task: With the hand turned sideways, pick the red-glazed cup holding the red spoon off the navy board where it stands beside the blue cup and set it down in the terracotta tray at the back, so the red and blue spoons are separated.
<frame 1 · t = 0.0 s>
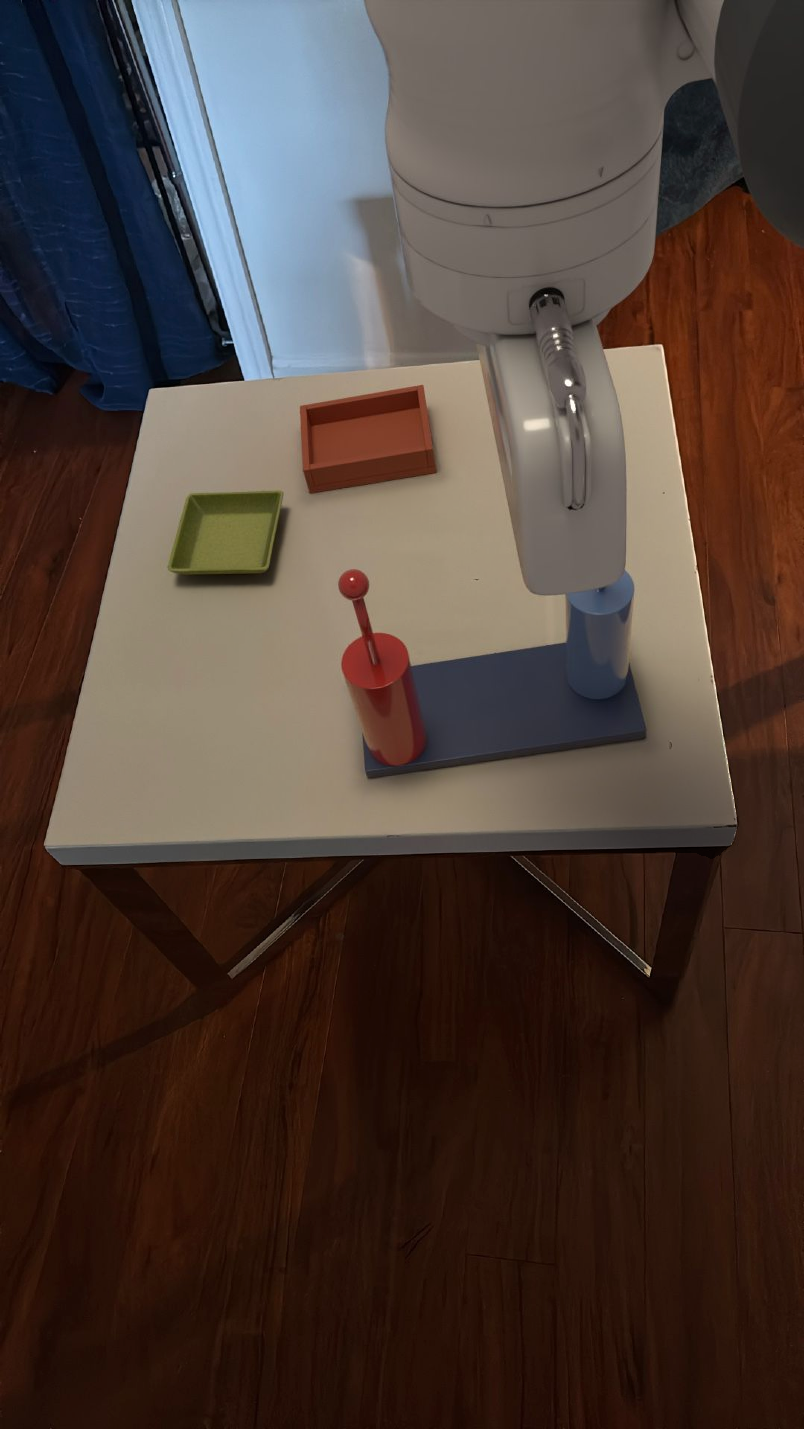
hand: (537, 496, 47), 30 cm above the table, tool pointing down, fingers open, 8 cm apart
red spoon cup: (397, 739, 75), point 1 cm above the table, touching navy board
saucer: (233, 547, 89), on the table
navy board: (497, 708, 76), on the table
red tray: (369, 450, 93), on the table
blue spoon cup: (596, 674, 76), point 1 cm above the table, touching navy board
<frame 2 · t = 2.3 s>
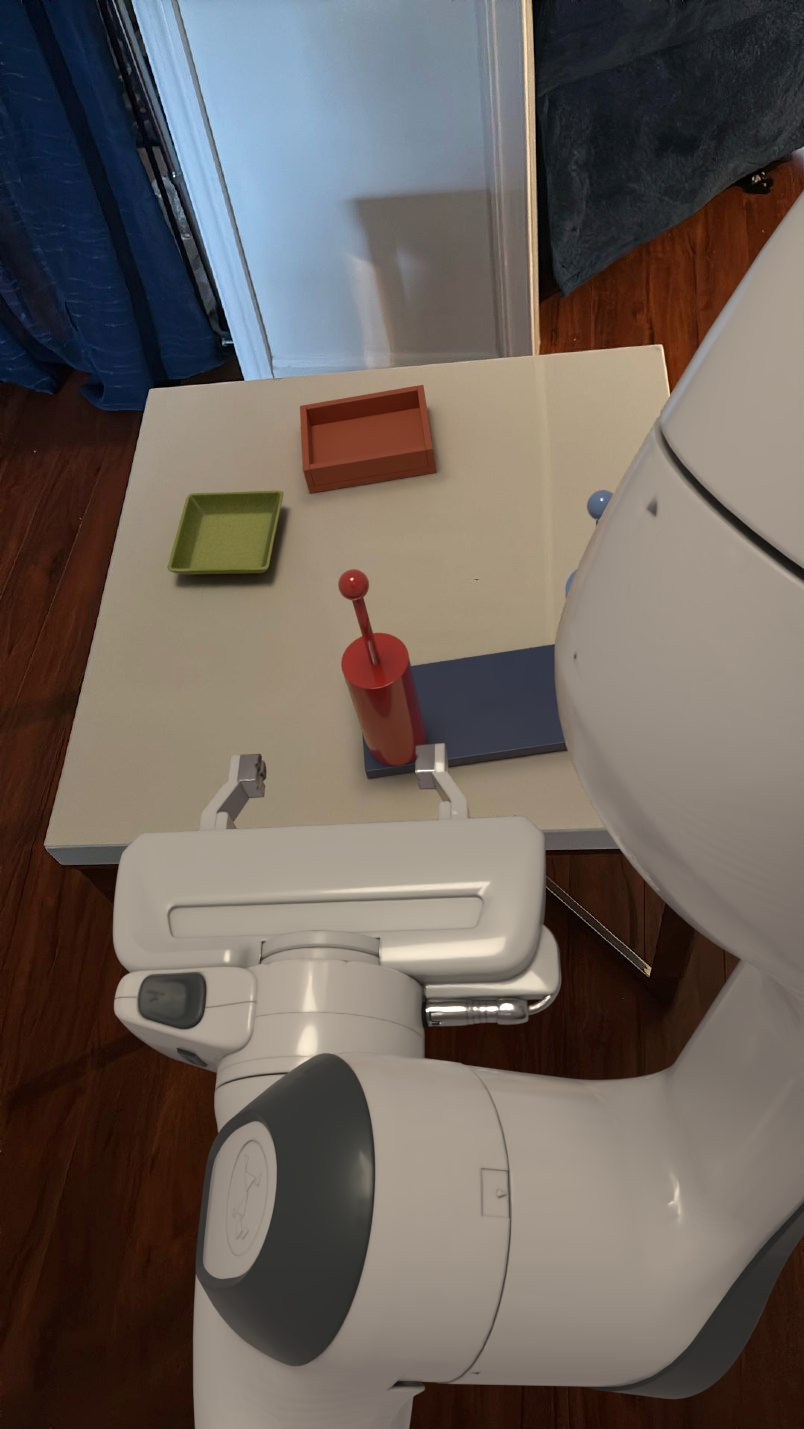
hand: (339, 754, 53), 20 cm above the table, tool horizontal, fingers open, 8 cm apart
nothing on the table moved.
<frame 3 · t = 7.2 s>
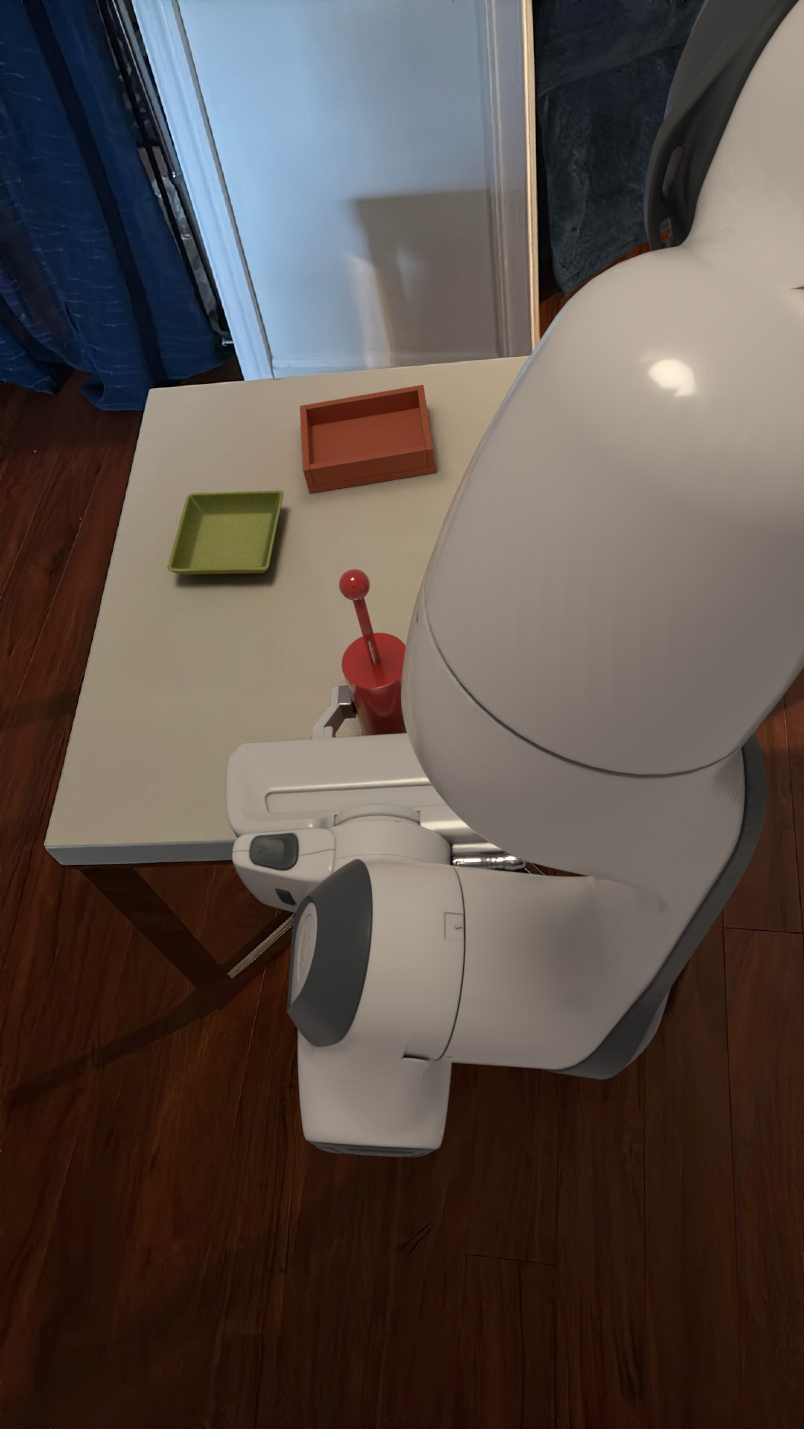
hand: (385, 687, 71), 7 cm above the table, tool horizontal, fingers closed on red spoon cup, 4 cm apart
red spoon cup: (397, 739, 75), point 1 cm above the table, touching gripper, navy board
everything else where it was.
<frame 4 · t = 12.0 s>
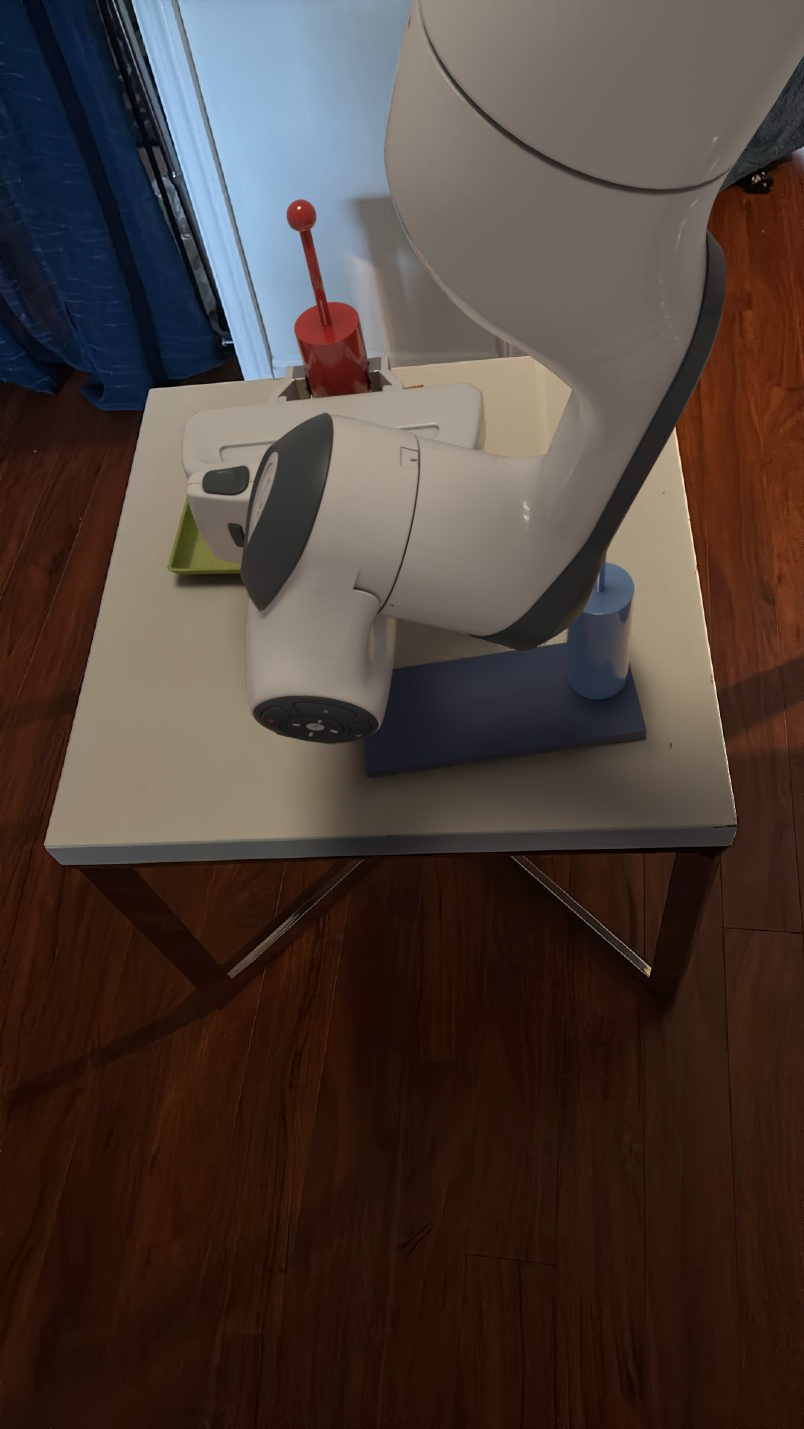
hand: (339, 368, 73), 17 cm above the table, tool horizontal, fingers closed on red spoon cup, 4 cm apart
red spoon cup: (353, 436, 77), point 11 cm above the table, touching gripper
everything else where it was.
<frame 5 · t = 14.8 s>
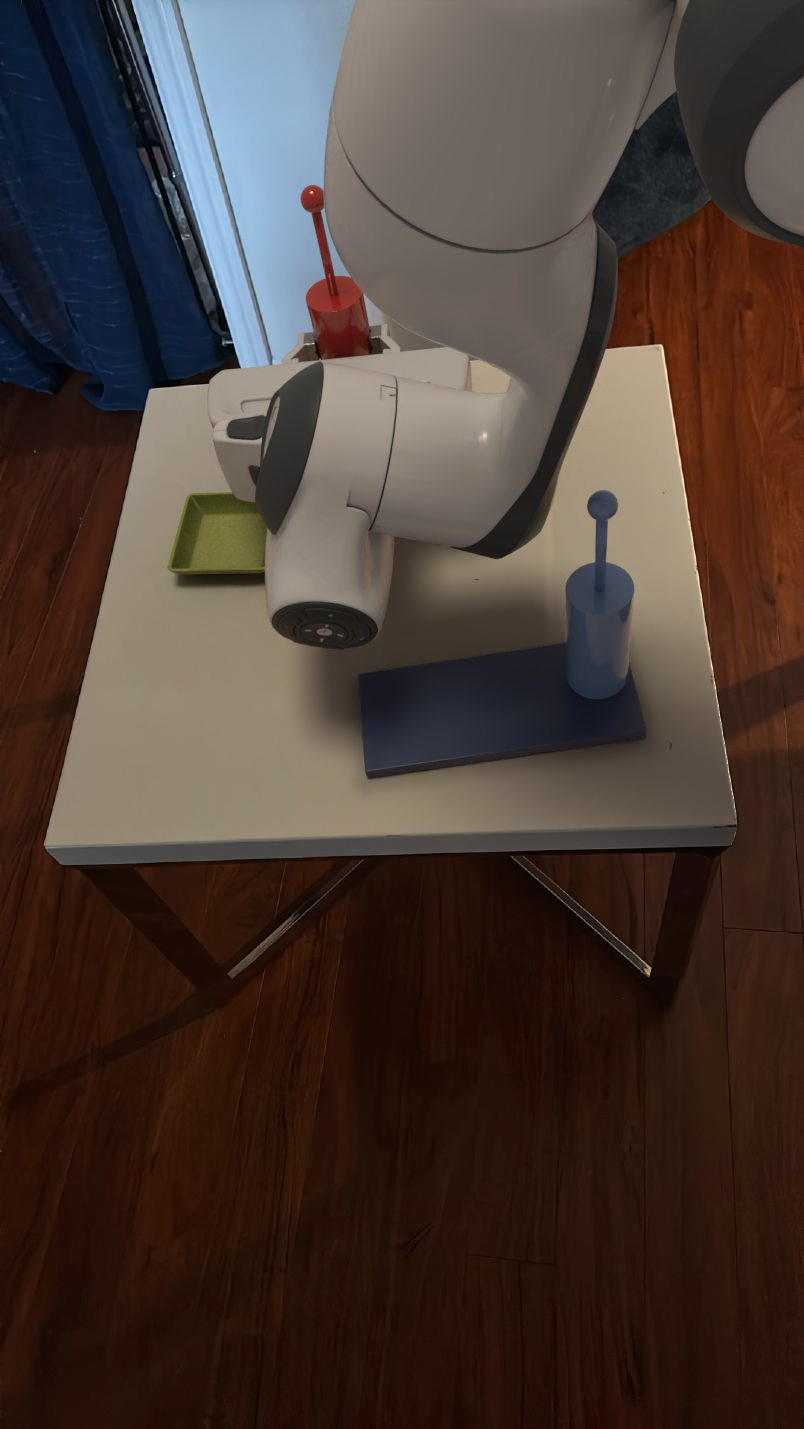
hand: (344, 335, 83), 12 cm above the table, tool horizontal, fingers closed on red spoon cup, 4 cm apart
red spoon cup: (356, 396, 88), point 6 cm above the table, touching gripper
everything else where it was.
when the fingers open (6 cm above the table, at t = 16.7 s): red spoon cup stays where it is, resting on red tray.
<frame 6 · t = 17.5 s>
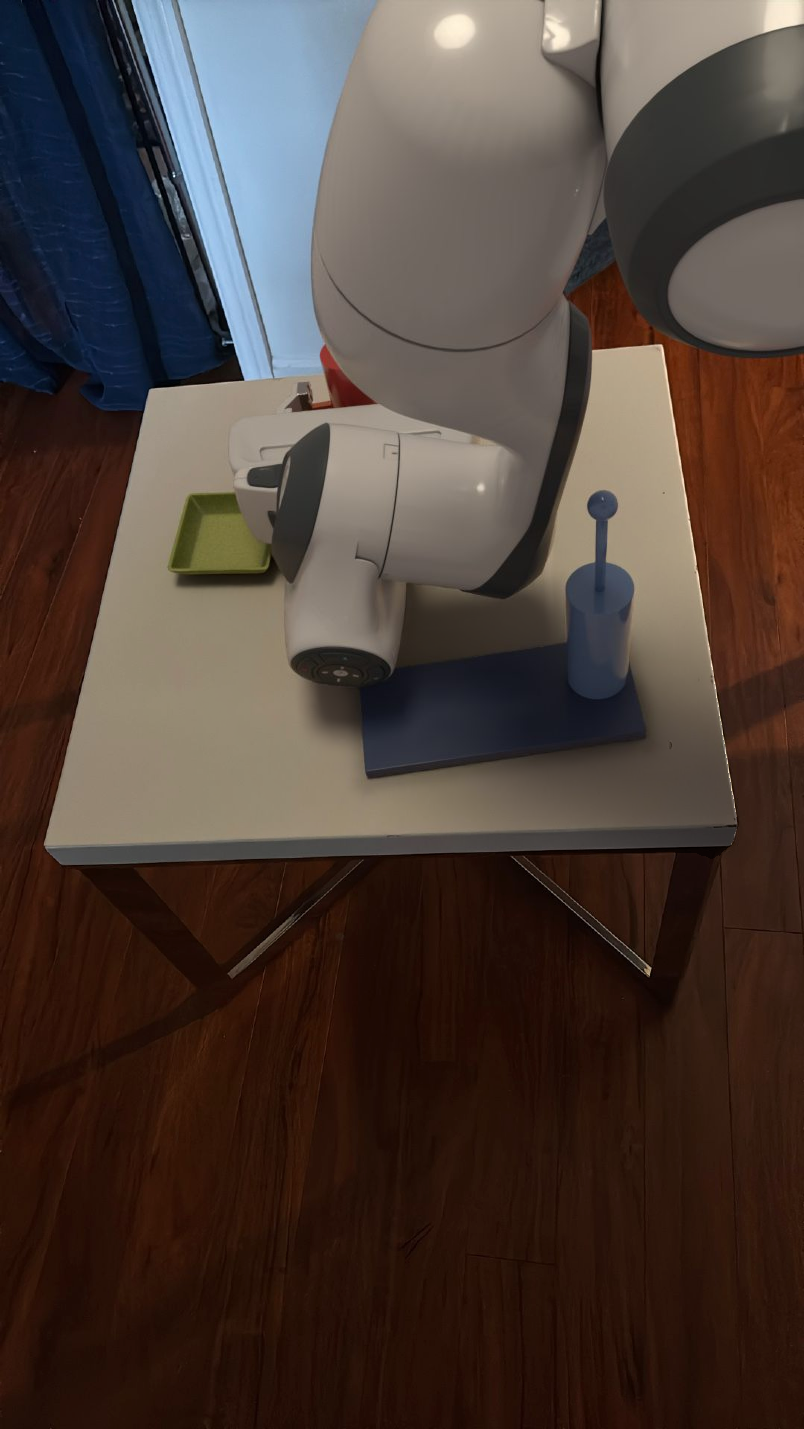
hand: (357, 382, 87), 7 cm above the table, tool horizontal, fingers open, 8 cm apart
red spoon cup: (367, 444, 92), point 1 cm above the table, touching red tray
everything else where it was.
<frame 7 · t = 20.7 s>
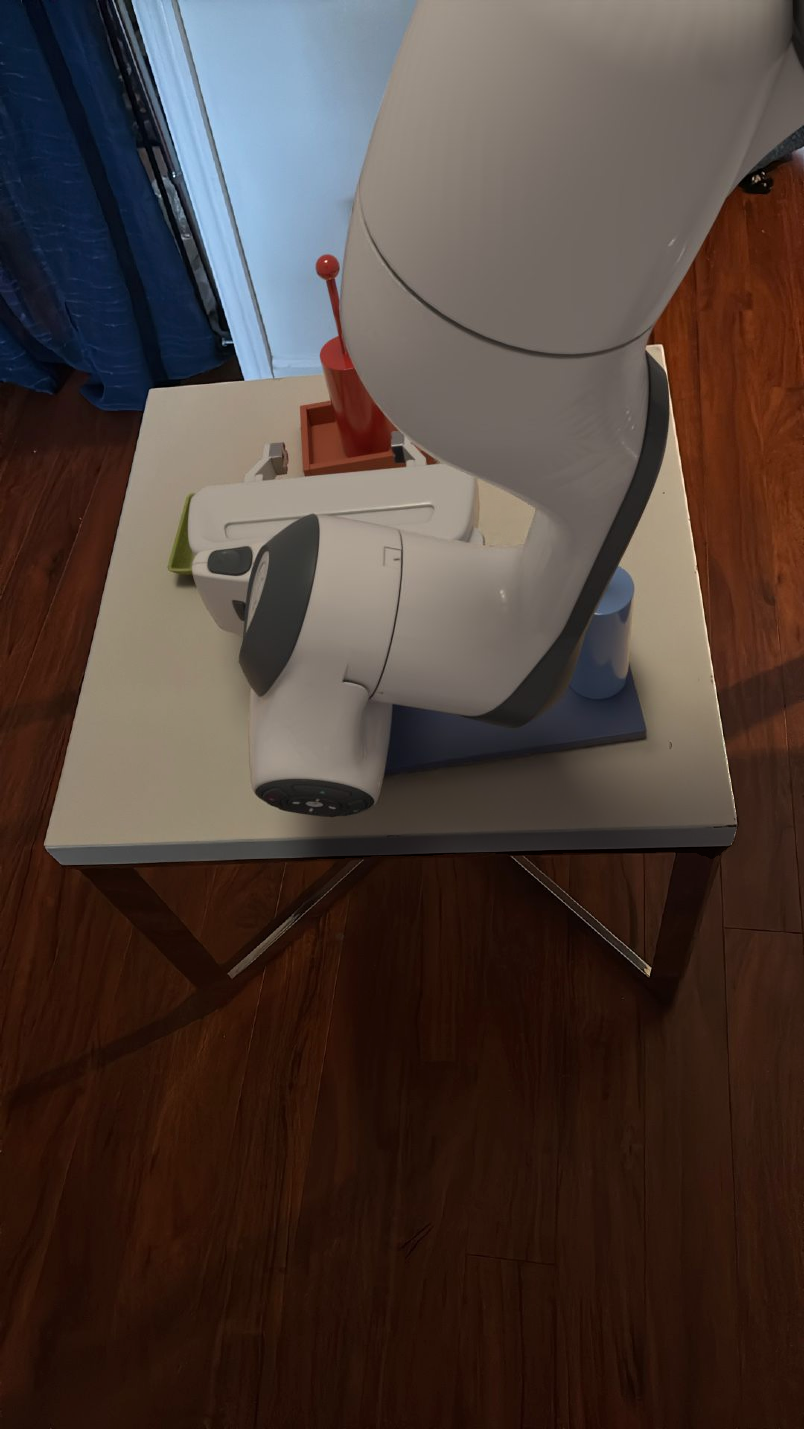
hand: (339, 442, 76), 12 cm above the table, tool horizontal, fingers open, 8 cm apart
nothing on the table moved.
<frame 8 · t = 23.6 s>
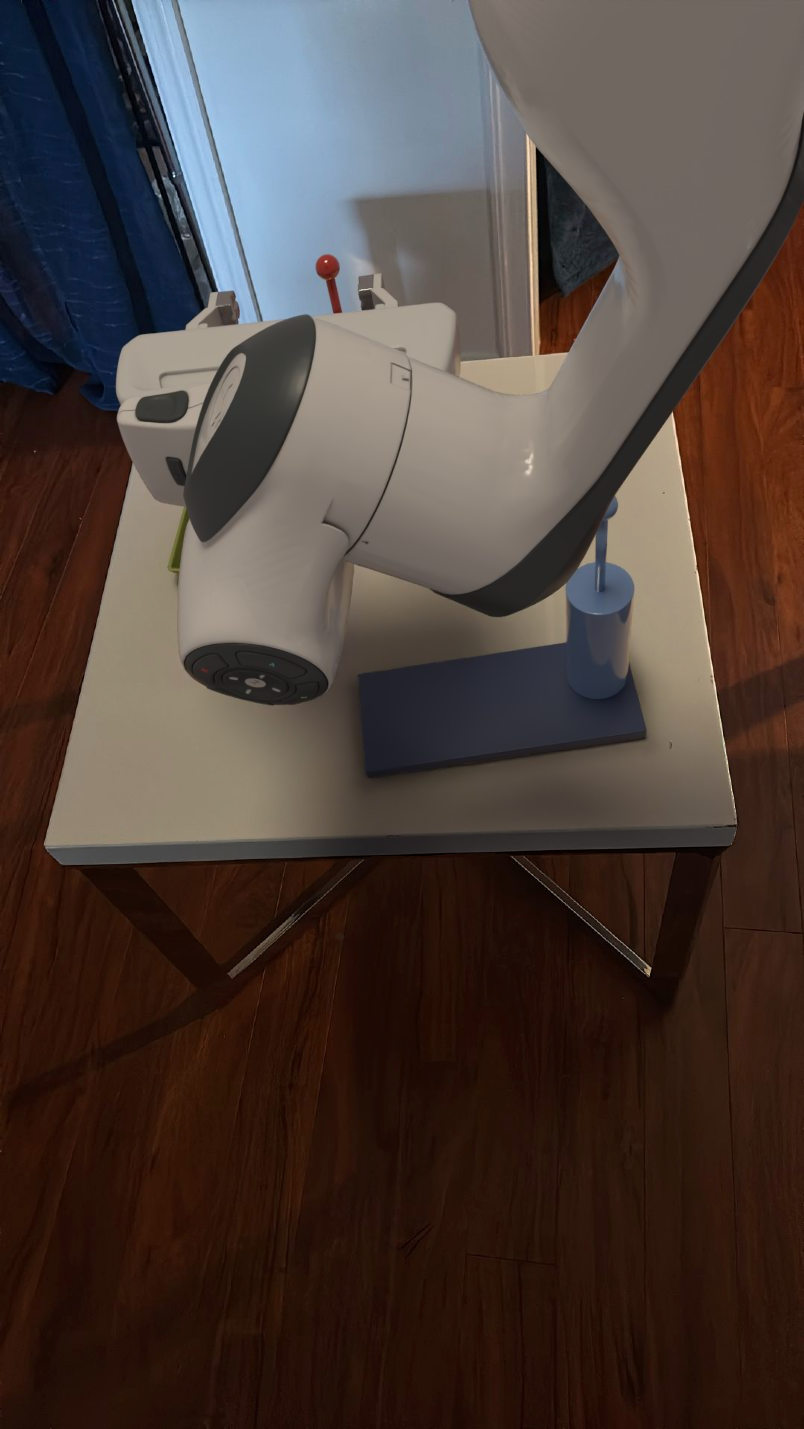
hand: (298, 292, 65), 25 cm above the table, tool horizontal, fingers open, 8 cm apart
nothing on the table moved.
at the end: red spoon cup 0.1 cm off-centre in the red tray, point 0.8 cm above the red tray's base; red spoon cup tilted 0°; blue spoon cup moved 0.0 cm from its start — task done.
